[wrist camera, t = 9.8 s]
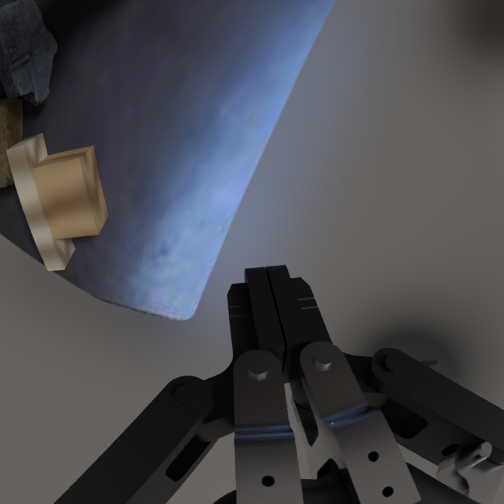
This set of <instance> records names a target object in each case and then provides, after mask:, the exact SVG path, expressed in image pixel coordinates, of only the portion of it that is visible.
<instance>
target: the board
mask: <svg viewBox="0 0 504 504" xmlns="http://www.w3.org/2000/svg"><path fill="white" fill-rule="evenodd" d="M6 152H7V156H8V160H9V164H10V168H11V172H12V175H13V179H14V182H15V186H16V189H17V192H18V195H19V199H20V202H21V205H22V208H23V211H24V213H25V216H26V219H27V222H28V225H29V227H30V230H31V232H32V235H33V238H34V240H35V243H36V245H37V247H38V250H39V252H40V254H41V257H42V259H43V261H44V264H45V266H46V268H47V270H48V271H55V270H64V269H65V267H66V265H67V263H68V262H69V260H70V258H71V256H72V254H73V252H74V250H75V247H74V244H73V241H72V238H64V239H56V240H53V237H52V235H51V232H50V229H49V226H48V223H47V221H46V218H45V215H44V212H43V209H42V205H41V202H40V199H39V196H38V192H37V189H36V185H35V182H34V178H33V174H32V171H31V169H32V168H33V167H34V166H35V165H37V164H38V163H39V162H40V161H42V160H43V159H44V158H46V157H47V151H46V146H45V142H44V137H43V133H41V134H37V135H34V136H31V137H28V138H25V139H24V140H22V141H20V142H19V143H17V144H15V145H14V146H12V147H11V148H9V149H7V150H6Z"/></svg>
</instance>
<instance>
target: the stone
mask: <svg viewBox="0 0 504 504" xmlns="http://www.w3.org/2000/svg"><path fill="white" fill-rule="evenodd" d="M57 48H58V45H57V42H56V40H55V39H54V36H53V34H52V33H51V32H49V31H48V30H47V29H46V28H45V24H44V22H43V18H42V14H41V12H40V9H39V8H38V7H37V4H36V2H35V1H34V0H17V1H14V2H12V3H10V4H7V5H5V6H3V7H1V8H0V81H1V82H2V84H3V86H4V90H5V92H6V95H7V97H8V99H9V98H11V97H18V96H23V97H24V99H26V100H27V101H30V102H31V103H32V104H33V105H34V106H38V105H39V104H41V103H42V102H43V101H44V100H45V99H46V98H47V97H48V95H49V93H50V90H49V81H50V77H51V73H52V68H53V58H54V55H55V54H56V52H57Z"/></svg>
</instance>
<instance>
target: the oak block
mask: <svg viewBox="0 0 504 504" xmlns="http://www.w3.org/2000/svg"><path fill="white" fill-rule="evenodd" d="M31 171H32V174H33V178H34V182H35V185H36V189H37V192H38V196H39V199H40V202H41V205H42V209H43V212H44V215H45V218H46V221H47V223H48V226H49V229H50V232H51V235H52V237H53V240H56V239H64V238H73V237H82V236H91V235H99V233H100V231H101V229H102V227H103V225H104V223H105V221H106V219H107V217H108V212H107V208H106V204H105V200H104V196H103V191H102V187H101V182H100V178H99V173H98V168H97V163H96V158H95V153H94V147H93V146H89V147H84V148H79V149H75V150H70V151H65V152H61V153H57V154H53V155H49V156H47V157H46V158H44V159H43V160H42V161H40V162H39V163H38V164H37V165H35V166H34V167H33V168H32V169H31Z"/></svg>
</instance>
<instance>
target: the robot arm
mask: <svg viewBox="0 0 504 504" xmlns="http://www.w3.org/2000/svg"><path fill="white" fill-rule="evenodd" d="M227 298H228V310H229V321H230V331H231V340H232V349H233V359H232V362H231V364H230V365H229V367H228V368H227V369H226V370H225V371H223V372H222V373H220V374H218V375H216V376H214V377H211V378H208V379H206V380H202V379H200V378H198V377H194V376H181V377H178V378H176V379H173V380H172V381H170V382H169V383H168V384H167V385H166V387H165V388H164V389H163V390H162V391H161V392H160V393H159V394H158V395H157V396H156V398H155V399H154V400H153V401H152V402H151V403H150V404H149V405H148V406H147V407H146V408H145V409H144V410H143V412H142V413H141V414H140V415H139V416H138V417H137V418H136V419H135V420H134V421H133V422H132V423H131V424H130V425H129V426H128V428H127V429H126V430H125V431H124V432H123V433H122V434H121V435H120V436H119V437H118V438H117V439H116V440H115V441H114V442H113V444H111V446H110V447H109V448H108V449H107V450H106V451H105V452H104V453H103V454H102V455H101V456H100V457H99V458H98V459H97V460H96V461H95V462H94V463H93V464H92V465H91V467H89V468H88V469H87V470H86V471H85V472H84V473H83V475H82V476H81V477H80V478H79V479H78V480H77V481H76V482H75V483H74V484H73V485H72V486H71V487H70V488H69V489H68V490H67V491H66V492H65V493H64V494H63V495H62V496H61V497H60V498H59V499H58V500H57V501H56V502H55V503H54V504H166V503H167V502H168V500H169V499H170V498H171V497H172V496H173V494H174V493H175V492H176V491H177V490H178V489H179V488H180V486H181V485H182V484H183V483H184V482H185V480H186V479H187V478H188V477H189V476H190V474H191V473H192V472H193V471H194V469H195V468H196V467H197V466H198V464H199V463H200V462H201V461H202V460H203V458H204V457H205V456H206V454H207V453H208V452H209V451H210V449H211V448H212V447H213V445H214V444H215V443H216V441H217V440H218V439H219V438H221V437H223V436H226V435H228V434H230V433H233V432H235V434H234V447H235V472H236V490H234V491H232V492H230V493H228V494H226V495H224V496H223V497H221V498H220V499H218V500H217V501H216V502H214V503H213V504H491V502H492V500H493V498H494V495H495V493H496V490H497V488H498V486H499V483H500V480H501V478H502V475H503V473H504V410H503V409H501V408H499V407H497V406H496V405H494V404H492V403H490V402H489V401H487V400H485V399H483V398H481V397H480V396H478V395H476V394H474V393H473V392H471V391H469V390H468V389H466V388H464V387H462V386H460V385H459V384H457V383H455V382H453V381H452V380H450V379H448V378H447V377H445V376H443V375H441V374H440V373H438V372H436V371H435V370H433V369H431V368H429V367H428V366H426V365H424V364H422V363H421V362H419V361H417V360H416V359H414V358H412V357H410V356H409V355H407V354H405V353H403V352H402V351H400V350H398V349H395V348H383V349H380V350H378V351H377V352H376V353H375V354H374V356H373V357H366V356H355V355H350V354H346V353H344V352H342V351H341V349H340V348H339V347H337V346H336V345H334V344H333V343H332V341H331V339H330V337H329V334H328V331H327V329H326V326H325V324H324V321H323V318H322V316H321V313H320V311H319V308H318V307H317V303H316V301H315V299H314V296H313V293H312V290H311V288H310V286H309V285H308V284H307V283H306V282H305V281H304V280H303V279H302V278H301V277H299V278H290V275H289V272H288V270H287V267H286V265H280V266H268V267H259V268H258V267H257V268H247V269H245V283H237V284H232V285H231V287H230V289H229V291H228V294H227ZM285 383H290V386H291V390H292V395H291V403H292V407H293V410H294V413H295V416H296V419H297V422H298V425H299V428H300V431H301V434H302V437H303V440H304V443H305V447H306V451H307V463H308V467H309V470H310V473H311V476H312V479H300V472H299V465H298V457H297V451H296V450H297V449H296V443H295V437H294V433H293V430H292V429H291V427H290V423H289V416H288V409H287V401H286V394H285V387H284V384H285ZM396 442H397V443H398V444H400V445H402V446H404V447H405V448H407V449H409V450H411V451H412V452H414V453H416V454H417V455H419V456H421V457H423V458H425V459H426V460H428V461H430V462H432V463H434V464H436V465H438V466H439V467H438V471H437V474H436V476H437V479H438V480H440V481H443V482H444V483H445V484H446V485H445V484H443V483H442V482H440V481H438V480H437V479H435V478H433V477H431V476H430V475H428V474H426V473H425V472H423V471H421V470H420V469H418V468H416V467H414V466H413V465H411V464H409V463H407V462H405V460H404V458H403V456H402V454H401V451H400V449H399V447H398V445H397V443H396Z"/></svg>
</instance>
